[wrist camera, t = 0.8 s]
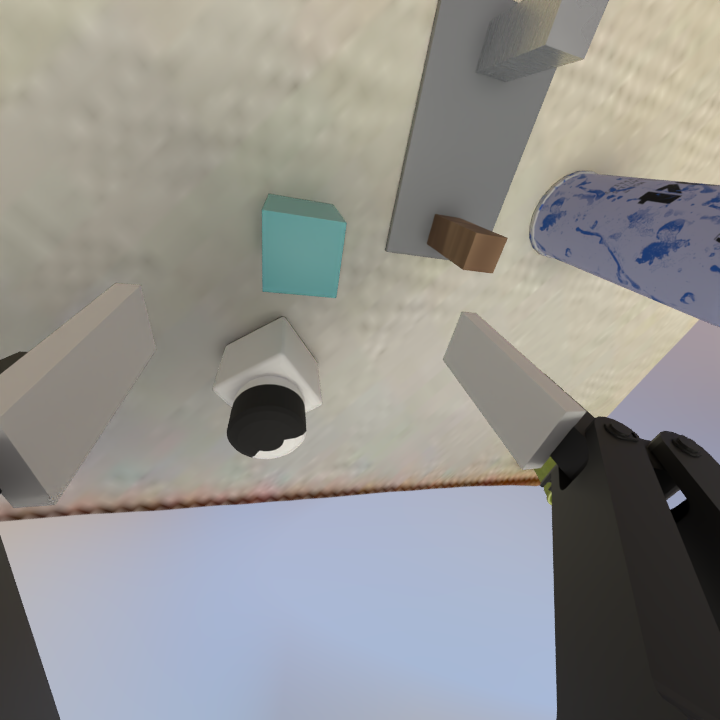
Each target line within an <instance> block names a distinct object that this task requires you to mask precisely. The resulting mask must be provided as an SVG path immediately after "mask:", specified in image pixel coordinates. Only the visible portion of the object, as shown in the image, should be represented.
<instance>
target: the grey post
mask: <svg viewBox="0 0 720 720" xmlns="http://www.w3.org/2000/svg"><path fill="white" fill-rule="evenodd" d="M608 1H609V0H523V1H521V2H519V3H518V4H516V5H515V6H513V7H511V8H510V9H508V10H507V11H505V12H503V13H502V14H500V15H499V16H497V17H496V18H494V19H492V20H491V21H490V23H489V27H488V30H487V34H486V37H485V41H484V44H483V48H482V51H481V55H480V58H479V62H478V65H477V69H476V72H475V73H478V74H481V75H484V76H487V77H490V78H494V79H497V80H500V81H503V82H509V81H512V80H515V79H519V78H522V77H525V76H529V75H532V74H535V73H539V72H542V71H546V70H549V69H552V68H556V67H559V66H562V65H566V64H569V63H572V62H576V61H579V60H583V59H584V58H585V55H586V53H587V51H588V48H589V46H590V44H591V41H592V39H593V36H594V34H595V32H596V29H597V27H598V25H599V22H600V20H601V18H602V15H603V13H604V11H605V8H606V6H607V4H608Z"/></svg>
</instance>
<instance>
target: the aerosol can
mask: <svg viewBox="0 0 720 720" xmlns="http://www.w3.org/2000/svg"><path fill="white" fill-rule="evenodd" d="M530 241H531V244H532V247H533V248H534V249H535V250H536V251H537V252H538V253H539V254H541V255H543V256H546V257H549V258H555V259H558V260H560V261H563V262H565V263H567V264H570V265H572V266H574V267H577V268H579V269H582V270H584V271H586V272H589V273H591V274H593V275H596V276H598V277H601V278H603V279H605V280H608V281H610V282H612V283H615V284H617V285H620V286H622V287H624V288H627V289H629V290H631V291H634V292H636V293H639V294H641V295H643V296H646V297H648V298H650V299H653V300H655V301H658V302H660V303H662V304H665V305H667V306H669V307H672V308H674V309H677V310H679V311H681V312H684V313H686V314H688V315H691V316H693V317H696V318H698V319H700V320H703V321H705V322H707V323H710V324H712V325H715V326H718V327H720V185H710V184H699V183H688V182H677V181H666V180H655V179H644V178H633V177H622V176H611V175H600V174H597V173H595V172H593V171H577V172H575V173H572V174H570V175H567V176H565V177H563V178H562V179H561V180H559V181H558V182H557V183H555V184H554V185H553V186H552V187H551V188H550V189H549V190H548V191H547V192H546V194H545V195H544V196H543V197H542V198H541V200H540V202H539V204H538V206H537V207H536V209H535V211H534V213H533V217H532V220H531V223H530Z"/></svg>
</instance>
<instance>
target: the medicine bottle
mask: <svg viewBox="0 0 720 720" xmlns="http://www.w3.org/2000/svg"><path fill="white" fill-rule="evenodd" d="M213 391H214V392H215V393H216V394H217V395H218V396H219V397H220V398H221V399H223V400H224V401H225V402H226V403H227V404H228V405H229V406H230V407H231V408H232V410H231V415H230V419H229V424H228V428H227V437H228V440H229V442H230V443H231V445H232V446H233V447H234V448H235V449H236V450H237V451H239V452H240V453H242V454H244V455H246V456H249V457H252V458H258V459H272V458H278V457H281V456H284V455H287V454H289V453H290V452H292V451H294V450H295V449H296V448H297V447H298V446H299V445H300V444H301V443H302V442H303V440H304V438H305V436H306V417H305V413H306V412H308V411H310V410H312V409H315V408H317V407H319V406H321V405H322V395H321V387H320V379H319V371H318V363H317V361H316V360H315V359H314V357H313V356H312V354H311V353H310V352H309V350H308V349H307V347H306V346H305V345H304V343H303V342H302V340H301V339H300V338H299V336H298V335H297V333H296V332H295V331H294V329H293V328H292V326H291V325H290V324H289V322H288V321H287V319H286V318H285V317H281V318H279V319H277V320H275V321H273V322H271V323H269V324H267V325H265V326H263V327H261V328H259V329H258V330H256V331H254V332H252V333H250V334H248V335H246V336H244V337H242V338H240V339H238V340H236V341H234V342H232V343H231V344H229V345H227V346H226V347H225V350H224V354H223V357H222V360H221V363H220V366H219V369H218V372H217V375H216V378H215V382H214V385H213Z"/></svg>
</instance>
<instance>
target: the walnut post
mask: <svg viewBox="0 0 720 720" xmlns="http://www.w3.org/2000/svg"><path fill="white" fill-rule="evenodd" d="M507 239H508V238H506V237H504V236H502V235H499V234H497V233H494V232H492V231H490V230H487V229H485V228H482V227H480V226H478V225H475V224H473V223H471V222H468V221H466V220H463V219H461V218H456V217H450V216H445V215H439V214H435V216H434V219H433V223H432V226H431V230H430V233H429V237H428V240H427V244H428V245H429V246H430V247H432V248H433V249H435V250H436V251H437V252H439V253H440V254H442V255H443V256H444V257H446V258H447V259H449V260H450V261H452V262H453V263H454V264H456V265H457V266H459V267H460V268H461V269H463V270H470V271H478V272H486V273H493V271H494V269H495V267H496V264H497V262H498V260H499V257H500V255H501V253H502V250H503V248H504V246H505V243H506V241H507Z"/></svg>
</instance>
